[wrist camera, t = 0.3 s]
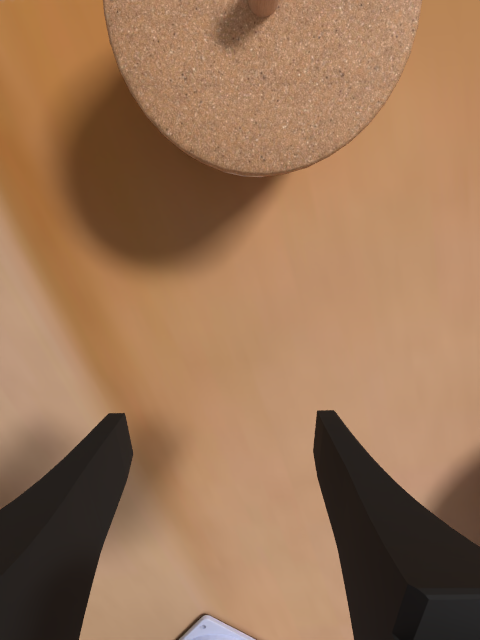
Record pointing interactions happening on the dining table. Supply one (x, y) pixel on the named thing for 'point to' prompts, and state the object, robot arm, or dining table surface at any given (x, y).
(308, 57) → the lidded jar
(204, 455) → the dining table surface
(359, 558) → the robot arm
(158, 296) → the dining table surface
